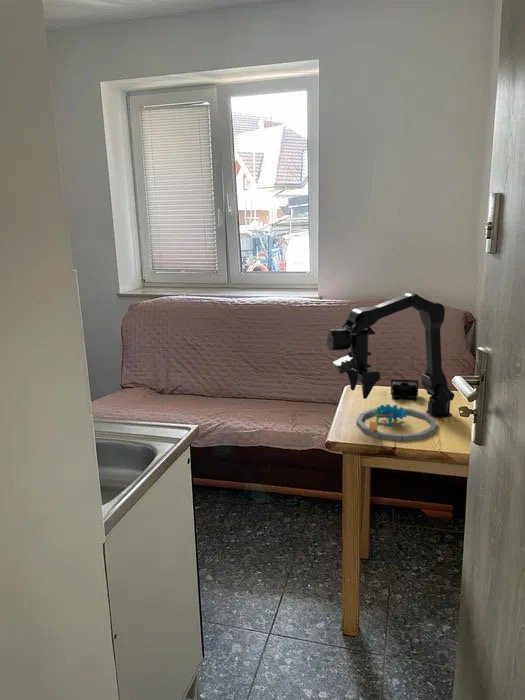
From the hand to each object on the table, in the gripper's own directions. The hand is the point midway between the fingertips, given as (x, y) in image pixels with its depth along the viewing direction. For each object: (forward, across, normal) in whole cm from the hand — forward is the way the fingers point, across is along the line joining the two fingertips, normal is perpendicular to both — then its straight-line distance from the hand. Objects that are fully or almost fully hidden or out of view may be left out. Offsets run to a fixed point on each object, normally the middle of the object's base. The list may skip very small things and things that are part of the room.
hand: (358, 394), depth 178 cm
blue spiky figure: (+11, +2, +11) cm, 15 cm away
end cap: (+11, -19, +28) cm, 36 cm away
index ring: (+11, +4, +12) cm, 16 cm away
